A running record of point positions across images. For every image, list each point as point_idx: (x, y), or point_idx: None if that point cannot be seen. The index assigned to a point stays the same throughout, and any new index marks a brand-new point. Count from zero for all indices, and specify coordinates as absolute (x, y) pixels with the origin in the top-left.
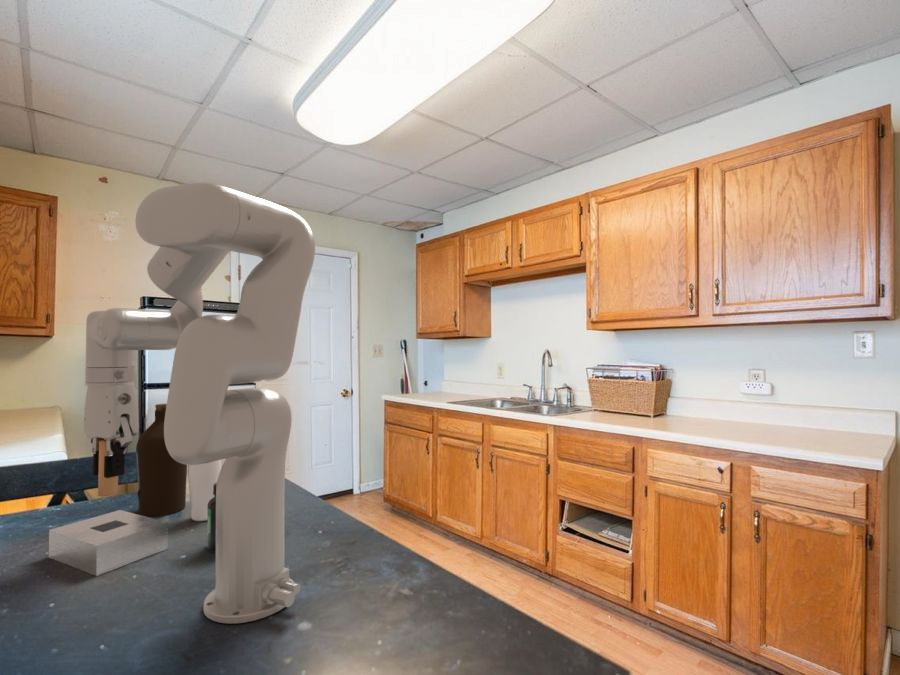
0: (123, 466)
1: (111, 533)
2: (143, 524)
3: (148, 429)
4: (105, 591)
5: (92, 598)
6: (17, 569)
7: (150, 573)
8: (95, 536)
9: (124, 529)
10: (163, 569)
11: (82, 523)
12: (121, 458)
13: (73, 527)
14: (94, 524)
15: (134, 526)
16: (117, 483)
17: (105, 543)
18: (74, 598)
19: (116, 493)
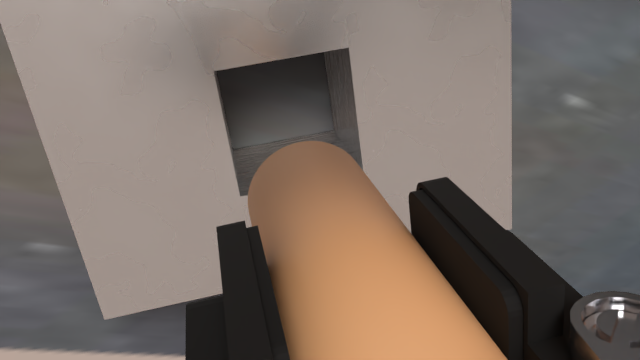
0: (475, 211)
1: (418, 151)
2: (426, 2)
3: None
4: (591, 191)
5: (598, 224)
6: (162, 333)
7: (603, 59)
8: (395, 206)
9: (415, 93)
10: (617, 16)
11: (120, 200)
12: (579, 298)
13: (158, 241)
14: (195, 165)
15: (416, 46)
16: (365, 178)
17: (509, 197)
18: (553, 255)
19: (352, 158)
